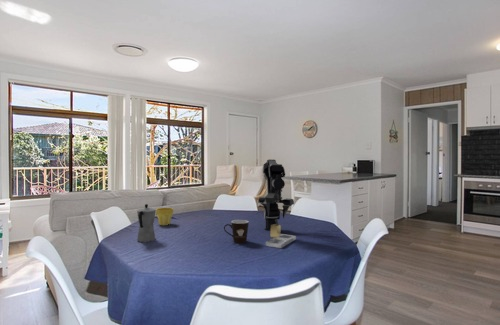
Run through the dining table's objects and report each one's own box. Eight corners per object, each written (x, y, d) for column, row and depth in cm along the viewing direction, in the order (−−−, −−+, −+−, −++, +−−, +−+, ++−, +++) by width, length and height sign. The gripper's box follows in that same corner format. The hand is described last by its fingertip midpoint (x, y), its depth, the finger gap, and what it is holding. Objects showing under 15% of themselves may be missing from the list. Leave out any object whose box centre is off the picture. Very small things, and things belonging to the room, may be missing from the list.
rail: (265, 245, 139) (265, 241, 139) (281, 237, 154) (281, 233, 154) (280, 248, 134) (280, 244, 134) (295, 239, 150) (295, 235, 150)
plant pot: (166, 221, 191) (166, 206, 191) (176, 223, 185) (176, 208, 185) (152, 224, 182) (152, 209, 182) (163, 226, 176) (163, 210, 176)
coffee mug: (250, 240, 148) (251, 220, 148) (245, 244, 140) (245, 224, 140) (229, 238, 152) (229, 218, 152) (222, 242, 144) (223, 222, 143)
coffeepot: (141, 236, 154) (142, 202, 154) (159, 236, 154) (159, 202, 154) (129, 244, 139) (129, 206, 139) (149, 244, 139) (149, 207, 139)
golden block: (270, 236, 155) (270, 225, 155) (273, 235, 159) (273, 224, 158) (277, 237, 153) (277, 226, 153) (280, 236, 156) (280, 225, 156)
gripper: (253, 188, 154) (253, 217, 154) (285, 190, 144) (285, 221, 144) (263, 186, 163) (263, 214, 163) (294, 188, 153) (294, 217, 154)
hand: (275, 216), depth 156 cm, fingers open, 9 cm apart
